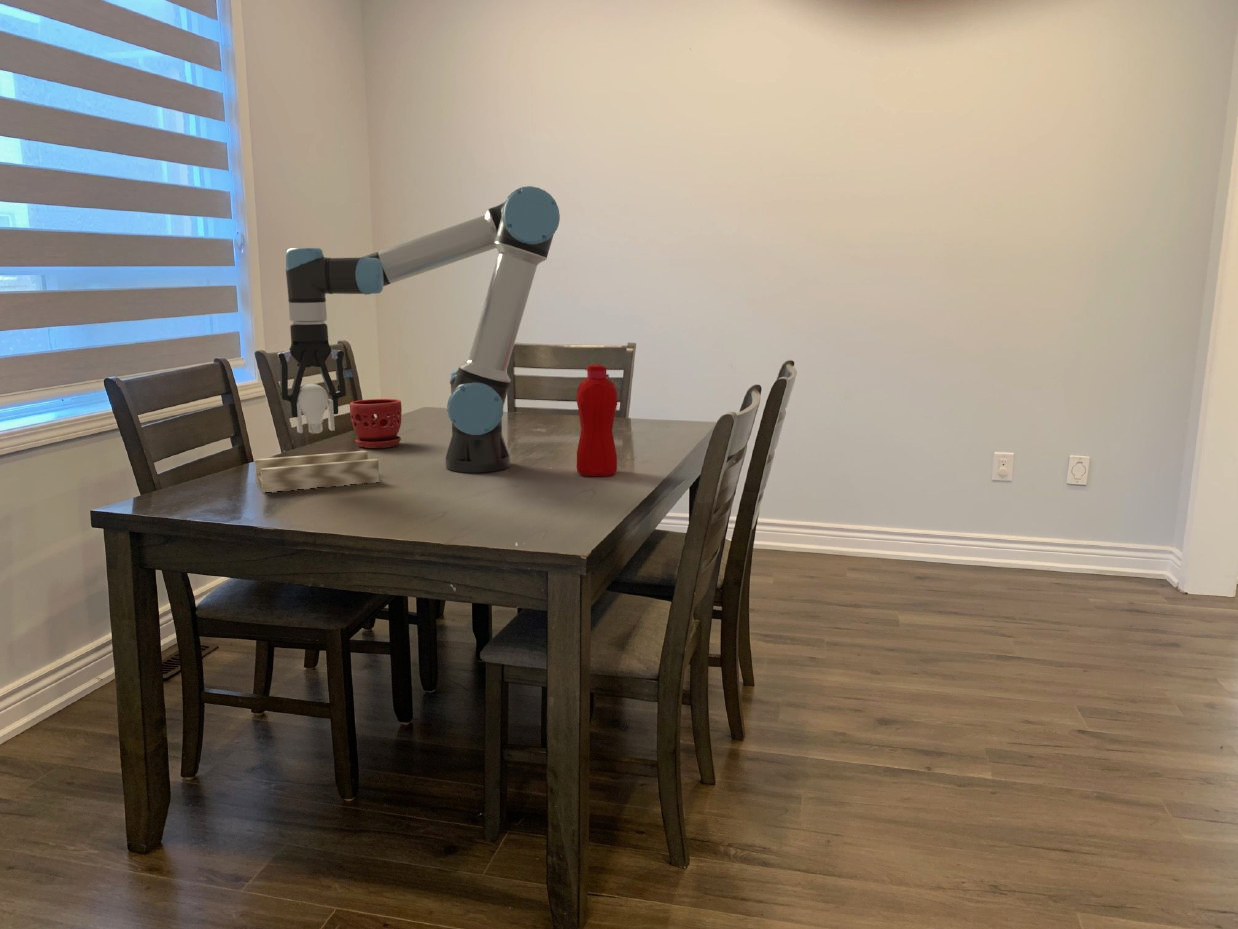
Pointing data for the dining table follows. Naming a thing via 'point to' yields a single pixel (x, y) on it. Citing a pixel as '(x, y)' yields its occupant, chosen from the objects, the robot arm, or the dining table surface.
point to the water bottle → (597, 423)
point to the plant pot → (376, 422)
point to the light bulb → (313, 406)
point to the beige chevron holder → (315, 471)
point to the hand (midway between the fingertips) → (316, 430)
